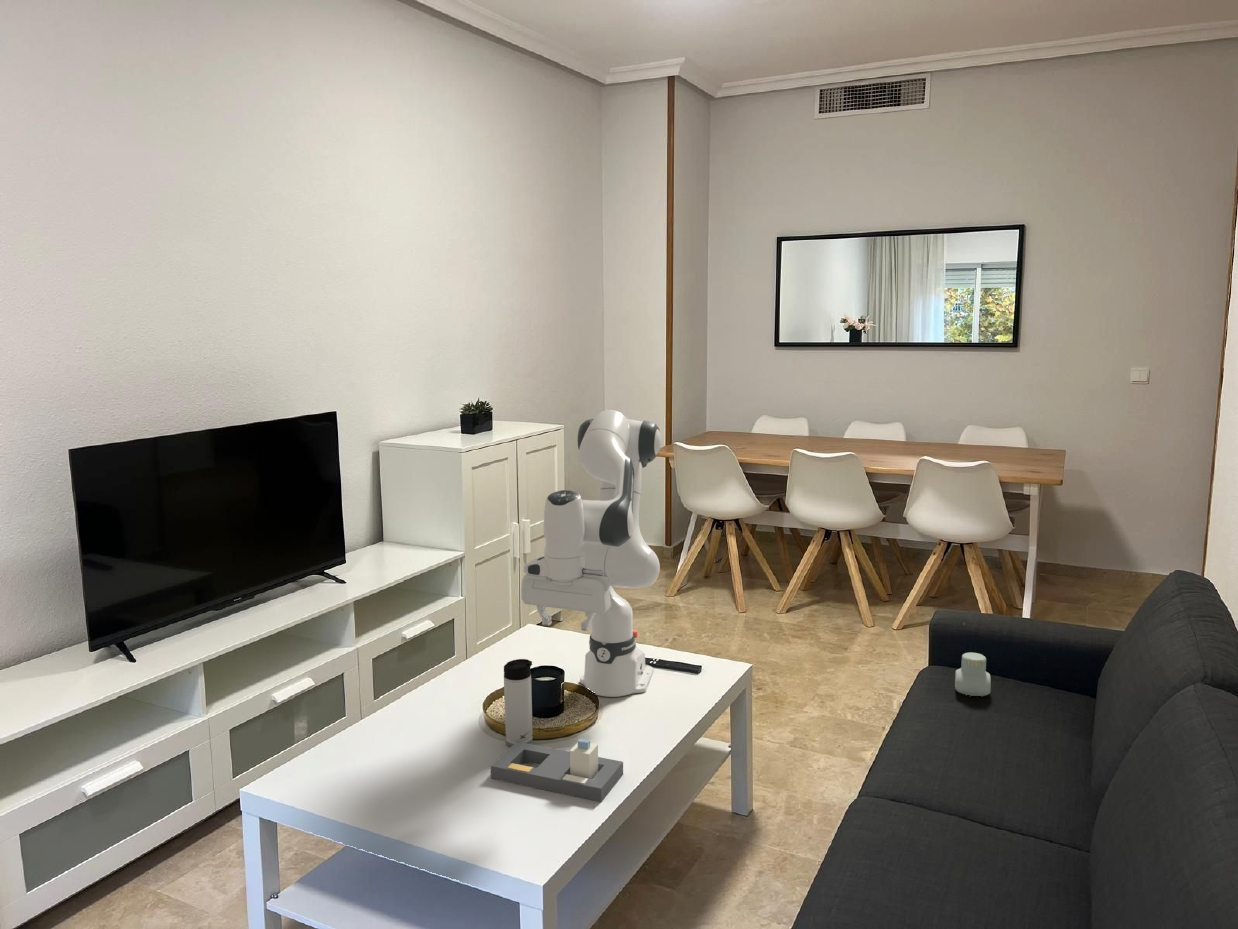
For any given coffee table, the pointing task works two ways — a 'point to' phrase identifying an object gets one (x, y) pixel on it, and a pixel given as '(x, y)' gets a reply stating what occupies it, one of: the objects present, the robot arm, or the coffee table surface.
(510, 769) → the panel
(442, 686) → the coffee table surface
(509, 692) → the travel mug
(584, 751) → the plug
